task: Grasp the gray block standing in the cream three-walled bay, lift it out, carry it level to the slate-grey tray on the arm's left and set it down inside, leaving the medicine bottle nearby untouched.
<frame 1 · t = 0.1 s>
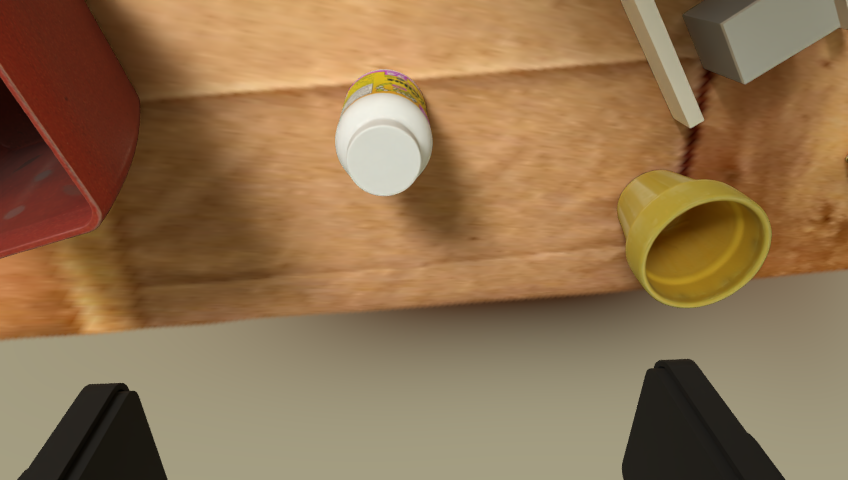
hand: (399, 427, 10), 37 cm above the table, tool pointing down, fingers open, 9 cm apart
gray block: (733, 15, 43), on the table
supplement bottle: (384, 107, 45), on the table
plant pot 2: (26, 54, 41), on the table
plant pot: (651, 202, 51), on the table
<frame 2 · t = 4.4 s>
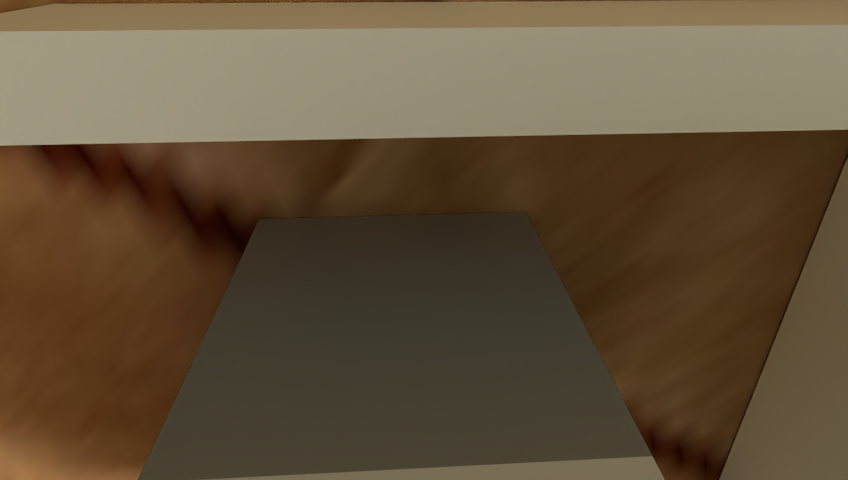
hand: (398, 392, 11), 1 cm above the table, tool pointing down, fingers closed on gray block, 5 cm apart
bay: (489, 356, 12), on the table
gray block: (398, 358, 12), on the table, touching gripper
when the fingers open (2 cm above the table, at t = 10.1 s): gray block stays where it is, resting on tray.
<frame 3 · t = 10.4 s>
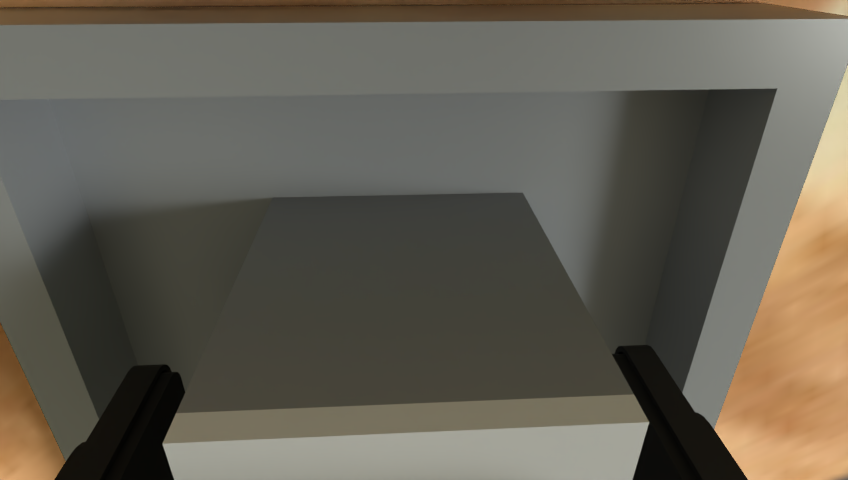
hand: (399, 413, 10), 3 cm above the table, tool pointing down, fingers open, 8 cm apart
gray block: (401, 333, 12), point 1 cm above the table, touching tray
tray: (396, 320, 13), on the table
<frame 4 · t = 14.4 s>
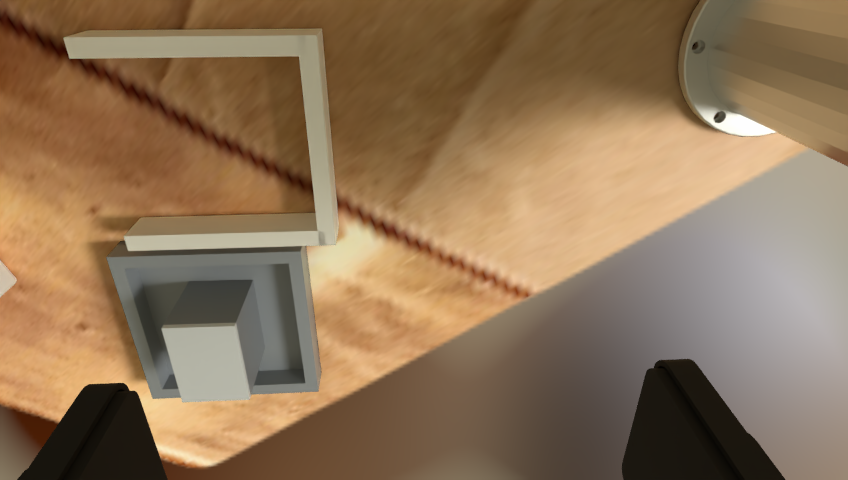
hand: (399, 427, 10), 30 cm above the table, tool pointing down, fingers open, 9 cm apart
bay: (221, 138, 38), on the table
gray block: (228, 316, 44), point 1 cm above the table, touching tray
tray: (229, 312, 45), on the table
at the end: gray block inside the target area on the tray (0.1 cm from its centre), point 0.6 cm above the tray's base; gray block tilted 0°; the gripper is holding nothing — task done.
